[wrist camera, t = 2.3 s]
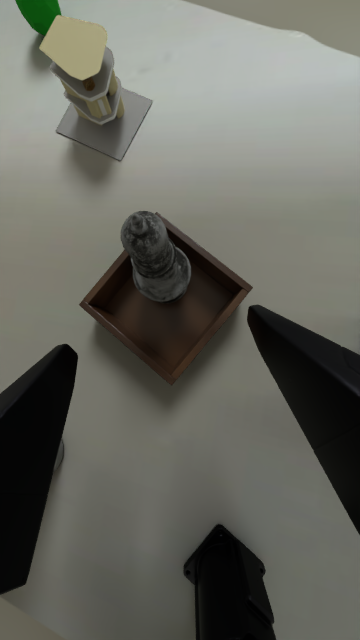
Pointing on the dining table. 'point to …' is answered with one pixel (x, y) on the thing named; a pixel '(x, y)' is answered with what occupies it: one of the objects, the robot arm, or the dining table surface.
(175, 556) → the dining table surface
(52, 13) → the polyhedron
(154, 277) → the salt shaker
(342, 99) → the dining table surface
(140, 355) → the wooden box
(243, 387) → the dining table surface
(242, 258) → the dining table surface
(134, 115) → the stacked layers on plate
